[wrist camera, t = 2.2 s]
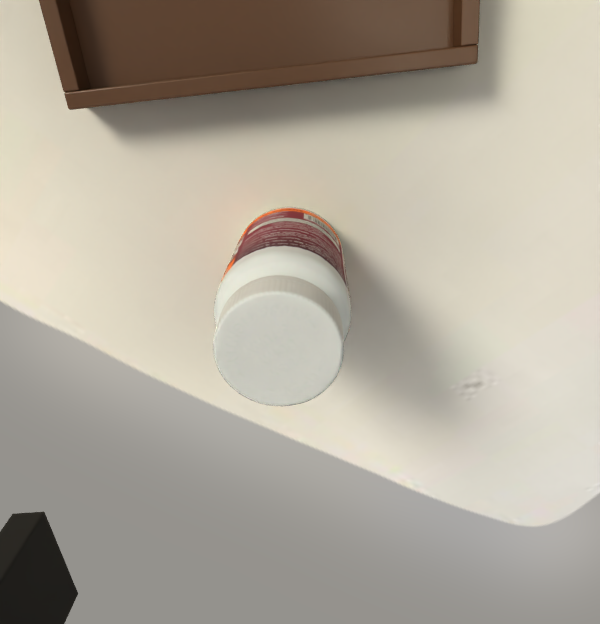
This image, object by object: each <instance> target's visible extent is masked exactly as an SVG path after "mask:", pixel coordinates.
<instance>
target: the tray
mask: <svg viewBox="0 0 600 624" xmlns="http://www.w3.org/2000/svg"><path fill="white" fill-rule="evenodd" d="M39 2H40V6H41V9H42V13H43V17H44V20H45V24H46V28H47V32H48V35H49V39H50V43H51V46H52V50H53V54H54V57H55V61H56V65H57V69H58V72H59V76H60V80H61V83H62V87H63V91H64V92H65V98H66V101H67V105H68V108H69V109H70V110H72V109H81V108H90V107H99V106H108V105H116V104H125V103H134V102H143V101H152V100H160V99H169V98H178V97H187V96H196V95H205V94H213V93H222V92H231V91H240V90H249V89H257V88H266V87H275V86H284V85H293V84H302V83H310V82H319V81H328V80H337V79H346V78H354V77H363V76H372V75H381V74H390V73H399V72H407V71H416V70H425V69H434V68H443V67H452V66H460V65H469V64H476V63H477V61H478V45H476V44H478V38H479V8H480V0H39Z"/></svg>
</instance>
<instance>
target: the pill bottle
mask: <svg viewBox="0 0 600 624" xmlns="http://www.w3.org/2000/svg"><path fill="white" fill-rule="evenodd" d="M214 317H215V323H216V331H215V335H214V341H213V350H214V357H215V361H216V364H217V367H218V369H219V371H220V373H221V375H222V376H223V378H224V379H225V380H226V382H227V383H228V384H229V385H230V386H231V387H232V388H233V389H234V390H236V391H237V392H238V393H239V394H241V395H243V396H245V397H246V398H248V399H250V400H252V401H255V402H258V403H261V404H265V405H271V406H290V405H296V404H300V403H304V402H306V401H309V400H311V399H313V398H315V397H316V396H318V395H319V394H321V393H322V392H324V391H325V390H326V389H327V388H328V387H329V386H330V385H331V384H332V382H333V381H334V380H335V378H336V377H337V375H338V373H339V370H340V368H341V365H342V361H343V356H344V340H345V338H346V336H347V334H348V331H349V327H350V322H351V302H350V295H349V290H348V283H347V277H346V269H345V263H344V255H343V250H342V246H341V242H340V240H339V238H338V236H337V234H336V232H335V231H334V229H333V228H332V227H331V225H330V224H329V223H328V222H327V221H326V220H324V219H323V218H322V217H320V216H318V215H317V214H315V213H313V212H311V211H308V210H305V209H301V208H295V207H283V208H277V209H273V210H270V211H268V212H266V213H263V214H262V215H260V216H259V217H257V218H256V219H255V220H254V221H253V222H251V223H250V225H249V226H248V227H247V228H246V230H245V231H244V233H243V234H242V236H241V238H240V240H239V242H238V244H237V246H236V248H235V250H234V253H233V255H232V258H231V260H230V262H229V264H228V266H227V269H226V271H225V273H224V276H223V278H222V280H221V283H220V286H219V288H218V291H217V294H216V298H215V305H214Z"/></svg>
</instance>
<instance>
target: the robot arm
mask: <svg viewBox="0 0 600 624" xmlns="http://www.w3.org/2000/svg"><path fill="white" fill-rule="evenodd" d="M77 595H78V592H77V590H76V587H75V585H74V583H73V580H72V578H71V576H70V573H69V571H68V568H67V566H66V564H65V561H64V558H63V556H62V554H61V551H60V549H59V546H58V544H57V542H56V539H55V537H54V535H53V532H52V529H51V527H50V525H49V522H48V520H47V517H46V515H45V513H44V512H35V513H19V514H12V516H11V517H10V519H9V520H8V522H7V523H6V524H5V526H4V527H3V529H2V530H1V532H0V624H64V623H65V621H66V618H67V616H68V614H69V612H70V610H71V608H72V606H73V603H74V601H75V599H76V597H77Z"/></svg>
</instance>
